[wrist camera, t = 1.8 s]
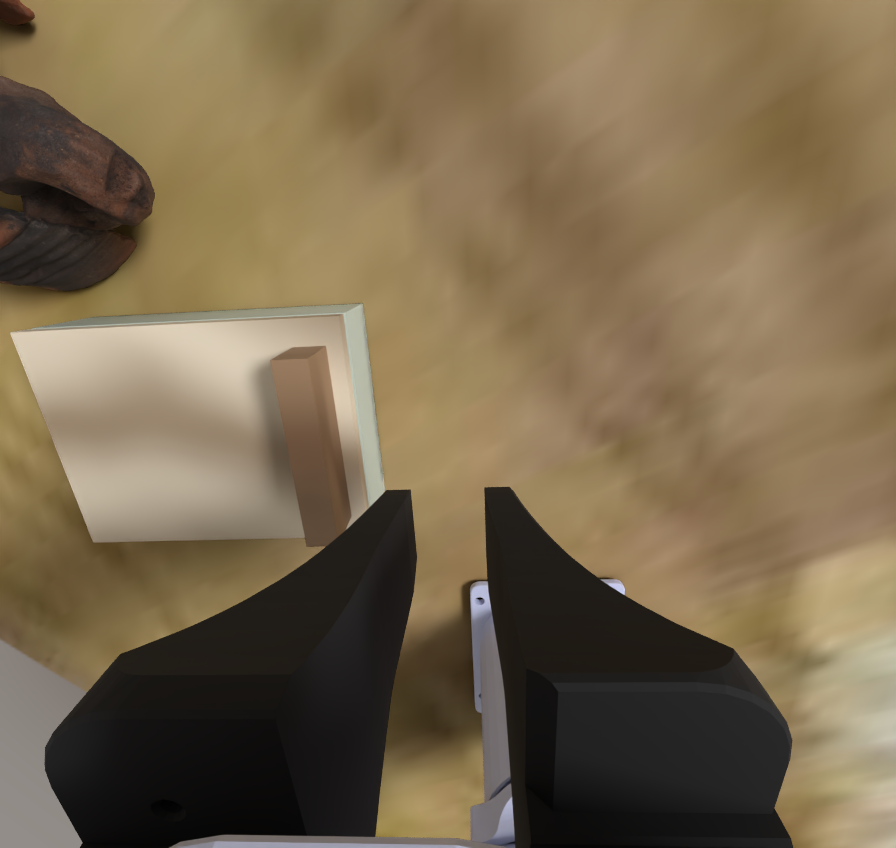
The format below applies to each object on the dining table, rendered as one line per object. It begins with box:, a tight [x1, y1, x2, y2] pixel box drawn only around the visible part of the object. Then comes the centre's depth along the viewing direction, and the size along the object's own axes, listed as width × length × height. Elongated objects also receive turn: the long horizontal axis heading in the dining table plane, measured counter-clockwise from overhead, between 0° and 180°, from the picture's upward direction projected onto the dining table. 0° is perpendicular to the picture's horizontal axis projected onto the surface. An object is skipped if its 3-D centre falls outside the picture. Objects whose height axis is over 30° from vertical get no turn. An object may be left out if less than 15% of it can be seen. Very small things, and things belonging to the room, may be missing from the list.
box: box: [32, 303, 385, 507], centre depth 20 cm, size 9×12×3 cm
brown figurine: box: [0, 0, 155, 291], centre depth 15 cm, size 12×10×8 cm
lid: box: [10, 314, 369, 547], centre depth 17 cm, size 9×12×3 cm
